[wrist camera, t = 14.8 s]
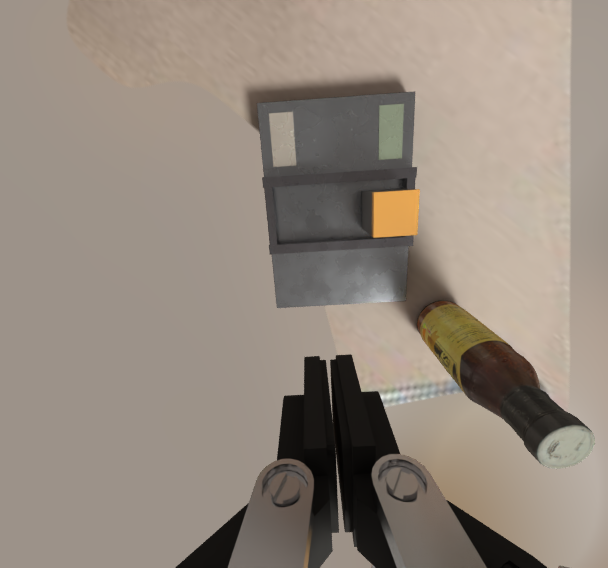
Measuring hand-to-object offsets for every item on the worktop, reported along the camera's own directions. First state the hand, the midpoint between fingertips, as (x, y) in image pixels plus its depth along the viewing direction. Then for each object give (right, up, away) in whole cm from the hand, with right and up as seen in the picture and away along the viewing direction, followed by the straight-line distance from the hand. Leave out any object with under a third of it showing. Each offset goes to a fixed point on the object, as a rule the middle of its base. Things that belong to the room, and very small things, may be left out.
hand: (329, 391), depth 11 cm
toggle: (+7, +12, +22) cm, 26 cm away
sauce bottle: (+17, -1, +29) cm, 34 cm away
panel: (+3, +12, +24) cm, 28 cm away
